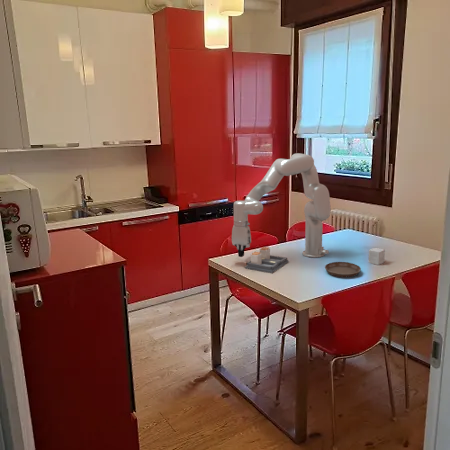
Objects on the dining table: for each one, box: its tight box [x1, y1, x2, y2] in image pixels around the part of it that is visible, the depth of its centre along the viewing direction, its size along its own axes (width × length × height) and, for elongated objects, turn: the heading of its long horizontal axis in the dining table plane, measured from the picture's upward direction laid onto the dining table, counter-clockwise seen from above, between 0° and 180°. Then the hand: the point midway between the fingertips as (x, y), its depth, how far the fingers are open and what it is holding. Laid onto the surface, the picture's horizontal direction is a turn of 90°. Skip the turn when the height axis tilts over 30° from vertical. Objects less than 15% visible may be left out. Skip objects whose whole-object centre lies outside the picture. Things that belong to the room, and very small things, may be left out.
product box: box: [368, 247, 386, 266], centre depth 232 cm, size 6×6×7 cm
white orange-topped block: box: [259, 246, 271, 259], centre depth 240 cm, size 4×5×6 cm
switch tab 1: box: [250, 251, 262, 265], centre depth 232 cm, size 4×5×6 cm
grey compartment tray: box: [244, 254, 289, 274], centre depth 234 cm, size 16×20×3 cm
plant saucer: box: [324, 261, 362, 279], centre depth 220 cm, size 18×18×3 cm
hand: (241, 256), depth 236 cm, fingers closed
